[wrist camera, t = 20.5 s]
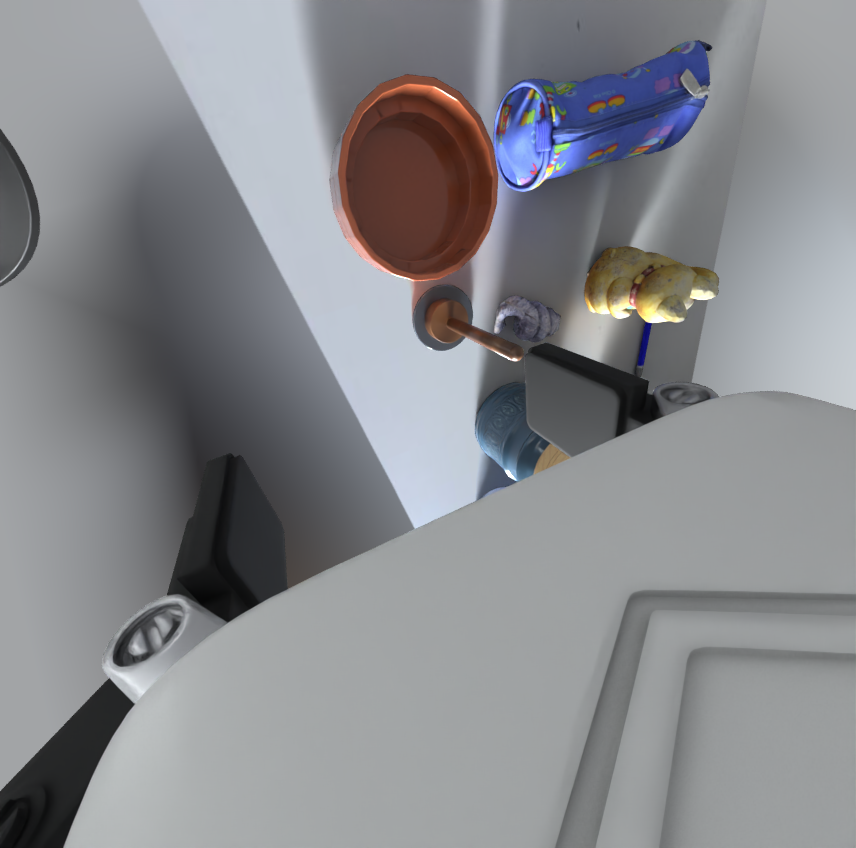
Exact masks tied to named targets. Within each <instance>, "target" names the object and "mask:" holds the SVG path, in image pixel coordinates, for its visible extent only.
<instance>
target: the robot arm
mask: <svg viewBox="0 0 856 848" xmlns="http://www.w3.org/2000/svg"><path fill="white" fill-rule="evenodd" d="M525 385H526V415H527V423H528V426H529V427H530V429H531V430H533V431H534V432H535V433H537V434H538V435H540V436H541V437H542V438H544V439H545V440H547V441H548V442H549V443H551V444H552V445H553V446H555V447H556V448H558V449H559V450H560V451H562V452H563V453H564V454H566V455H567V456H569V457H570V459H567V460H565V461H563V462H561V463H558V464H556V465H554V466H552V467H550V468H547V469H545V470H543V471H541V472H539V473H536V474H534V475H532V476H530V477H528V478H525V479H523V480H521V481H519V482H517V483H514V484H512V485H510V486H508V487H506V488H503V489H501V490H499V491H497V492H495V493H493V494H490V495H488V496H486V497H484V498H482V499H479V500H477V501H475V502H473V503H471V504H469V505H466V506H464V507H462V508H460V509H458V510H455V511H453V512H451V513H449V514H447V515H445V516H442V517H440V518H438V519H436V520H434V521H431V522H429V523H427V524H425V525H423V526H421V527H419V528H416V529H414V530H412V531H410V532H408V533H406V534H403V535H401V536H399V537H397V538H395V539H393V540H390V541H388V542H386V543H384V544H382V545H380V546H378V547H375V548H373V549H371V550H369V551H367V552H365V553H362V554H360V555H358V556H356V557H354V558H352V559H349V560H347V561H345V562H343V563H341V564H339V565H336V566H334V567H332V568H330V569H328V570H326V571H324V572H322V573H320V574H317V575H315V576H313V577H311V578H310V579H307V580H305V581H303V582H302V583H299V584H297V585H295V586H293V587H291V588H289V589H288V588H287V572H286V556H285V538H284V529H283V526H282V524H281V521H280V519H279V518H278V516H277V514H276V513H275V511H274V509H273V508H272V506H271V504H270V503H269V501H268V499H267V497H266V496H265V494H264V492H263V491H262V489H261V487H260V486H259V484H258V482H257V480H256V479H255V477H254V475H253V474H252V472H251V470H250V469H249V467H248V465H247V464H246V462H245V460H244V459H243V457H242V456H240V455H239V456H237V457H234V456H233V455H232V454H231V453H229V454H226V455H223V456H221V457H218V458H215V459H212V460H209V461H208V462H207V465H206V469H205V472H204V476H203V480H202V484H201V488H200V491H199V495H198V499H197V503H196V507H195V510H194V514H193V517H191V518H189V520H188V522H187V525H186V528H185V532H184V535H183V539H182V543H181V546H180V550H179V553H178V557H177V561H176V564H175V568H174V571H173V575H172V579H171V582H170V586H169V590H168V593H167V596H165V597H162V598H160V599H157V600H155V601H153V602H151V603H150V604H148V605H146V606H144V607H143V608H141V609H140V610H139V611H138V612H137V613H135V614H134V615H133V616H131V617H130V618H129V619H128V620H127V621H126V622H125V623H124V624H123V625H122V626H121V627H120V628H119V630H118V631H117V632H116V633H115V635H114V636H113V638H112V639H111V640H110V642H109V644H108V646H107V648H106V650H105V652H104V654H103V661H102V667H103V670H104V672H105V674H106V675H107V676H108V677H109V679H108V680H107V681H106V682H105V683H104V684H103V685H102V686H101V687H100V688H99V689H98V690H97V691H96V692H95V693H94V694H93V695H92V696H91V697H90V699H89V700H88V701H87V702H86V703H85V704H84V705H83V706H82V707H81V708H80V709H79V710H78V711H77V712H76V713H75V714H74V715H73V716H72V717H71V718H70V720H68V721H67V722H66V723H65V724H64V726H63V727H62V728H61V729H60V730H59V731H58V732H57V733H56V734H55V735H54V736H53V737H52V738H51V739H50V740H49V741H48V742H47V743H46V744H45V745H44V746H43V747H42V749H40V750H39V752H38V753H37V754H36V755H35V756H34V757H33V758H32V759H31V760H30V761H29V762H28V763H27V764H26V765H25V766H24V767H23V768H22V769H21V770H20V771H19V772H18V773H17V774H16V776H14V777H13V779H12V780H11V781H10V782H9V783H8V784H7V785H6V786H5V787H4V788H3V789H2V790H1V791H0V848H856V410H853V409H850V408H846V407H842V406H839V405H835V404H831V403H828V402H825V401H821V400H817V399H813V398H810V397H806V396H802V395H798V394H793V393H788V392H780V391H760V392H746V393H738V394H732V395H727V396H722V397H719V396H718V395H717V394H716V393H715V392H714V391H713V390H712V389H710V388H708V387H706V386H702V385H699V384H694V383H689V382H670V383H665V384H661V385H659V386H657V387H656V388H655V389H654V391H653V395H650V394H648V393H647V390H648V385H649V381H648V380H645V379H643V378H640V377H637V376H635V375H632V374H629V373H627V372H624V371H621V370H619V369H616V368H613V367H611V366H608V365H605V364H603V363H600V362H597V361H595V360H592V359H589V358H587V357H584V356H581V355H579V354H576V353H573V352H571V351H568V350H565V349H563V348H560V347H557V346H555V345H552V344H549V343H543V344H540V345H537V346H534V347H531V348H530V349H529V350H528V353H527V354H526V355H525Z"/></svg>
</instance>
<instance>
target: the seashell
mask: <svg viewBox="0 0 856 848" xmlns="http://www.w3.org/2000/svg"><path fill="white" fill-rule="evenodd" d="M496 313H497V315H496V317H497V319H496V321H495V327H494V332H495V333H499V332H500V331H502V329H503V328H504V327H505V326H506V323H505V317H506V316H512V315H514V316H515V320H514V328H513V330H514V332H515V335H516V336H517V337H518V338H520V339H521V340H525V341H527V340H529V341H531V342H539V341H541V340H543V339H544V338H545V337H546V336H552V335H553V334H554V333H555V332H556V331H558V329H559V323H560V317H561V316H560V314H558V313H556V312H555V311H554V310H553V309H552V308H549V307H545V306H544V305H543V304H542V303H540V302H538V301H531V302H529V300H527V299H525V298H523V297H519V296H517V295H514V296H511V297H509V298H508V299H506V300H505V301H503V302H502V303H501V304H500V306H499V308H498V310H497V312H496Z"/></svg>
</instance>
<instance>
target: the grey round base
mask: <svg viewBox="0 0 856 848" xmlns="http://www.w3.org/2000/svg"><path fill="white" fill-rule="evenodd" d="M442 298H448V299H451V300H454V301H457V302H459V303H461V304H462V305H463V306H464V307H465V309H466V311H467V313H468V324H470V325H471V324H472V319H473V311H472V306H471V303H470V300H469V298H468V297H467V295H466V294H465V293H464V292H463V291H462V290H460V289H459V288H457V287H455V286H451V285H438V286H435V287H433V288H431V289H429V290H428V291H426V292H425V293H424V294H423V295H422V296H421V297H420V299H419V300H418V302H417V304H416V306H415V309H414V313H413V327H414V331H415V334H416V336H417V337H418V339H419V340H420V342H421V343H423V344H424V345H425V346H426V347H428V348H430V349H432V350H436V351H445V350H449V349H452V348H454V347H456V346H457V345H458V344H460V343H461V342H462V341H463V340H464V339H465V337H464V336H462V337H461V338H460V339H458V340H457V341H455V342H452V343H443V342H440V341H438V340H437V339H435V338H434V337H432V336H431V335H430V334H429V333H428V331H427V329H426V327H425V315H426V312H427V310H428V308H429V307H430V305H431V304H432V303H433V302H435V301H436V300H439V299H442Z"/></svg>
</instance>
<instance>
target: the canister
mask: <svg viewBox="0 0 856 848" xmlns="http://www.w3.org/2000/svg"><path fill="white" fill-rule="evenodd" d="M475 434H476V438H477V441H478V443H479V444H480V446H481V448H482V449H483V451H484V452H485V453H486V454H487V455H488V456H489V457H491V458H493V459H494V460H495V461H496V462H497V463H498V464H499V465H500V466H501V467H502V468H503V469H504V470H505V472H506V474H507V475H508V476H509V477H510V478H511V479H513V480H515V481H517V482H519V481H521V480H523V479H525V478H528V477H530V476H532V475H534V474H536V473H539V472H541V471H543V470H545V469H547V468H550V467H552V466H554V465H556V464H558V463H561V462H563V461H565V460H567V459H570V457H569V456H567V455H566V454H564V453H563V452H562V451H560V450H559V449H558V448H556V447H555V446H553V445H552V444H551V443H549V442H548V441H547V440H545V439H544V438H542V437H541V436H540V435H538V434H537V433H535V432H534V431H533V430H531V429H530V427H529V426H528V423H527V415H526V385H525V383H523V382H515V383H510V384H507V385H505V386H502V387H501V388H499V389H497V390H496V391H495V392H493V393H492V394H491V395H490V396H489V397H488V398H487V399H486V401H485V402H484V403H483V405H482V406H481V408H480V410H479V412H478V415H477V418H476V422H475Z"/></svg>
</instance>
